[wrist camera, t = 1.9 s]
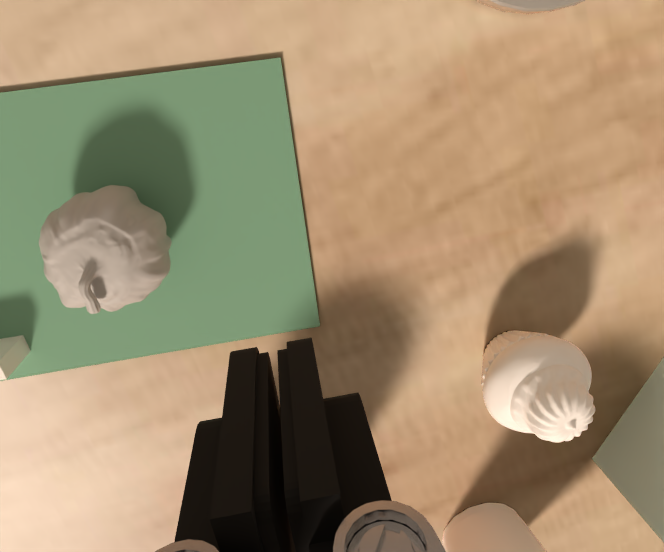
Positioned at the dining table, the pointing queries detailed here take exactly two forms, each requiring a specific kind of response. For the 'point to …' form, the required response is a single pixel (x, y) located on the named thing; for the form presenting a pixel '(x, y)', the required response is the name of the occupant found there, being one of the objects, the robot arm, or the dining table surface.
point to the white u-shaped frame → (12, 354)
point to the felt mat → (158, 210)
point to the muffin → (537, 385)
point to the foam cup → (489, 531)
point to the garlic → (104, 249)
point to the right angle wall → (639, 452)
